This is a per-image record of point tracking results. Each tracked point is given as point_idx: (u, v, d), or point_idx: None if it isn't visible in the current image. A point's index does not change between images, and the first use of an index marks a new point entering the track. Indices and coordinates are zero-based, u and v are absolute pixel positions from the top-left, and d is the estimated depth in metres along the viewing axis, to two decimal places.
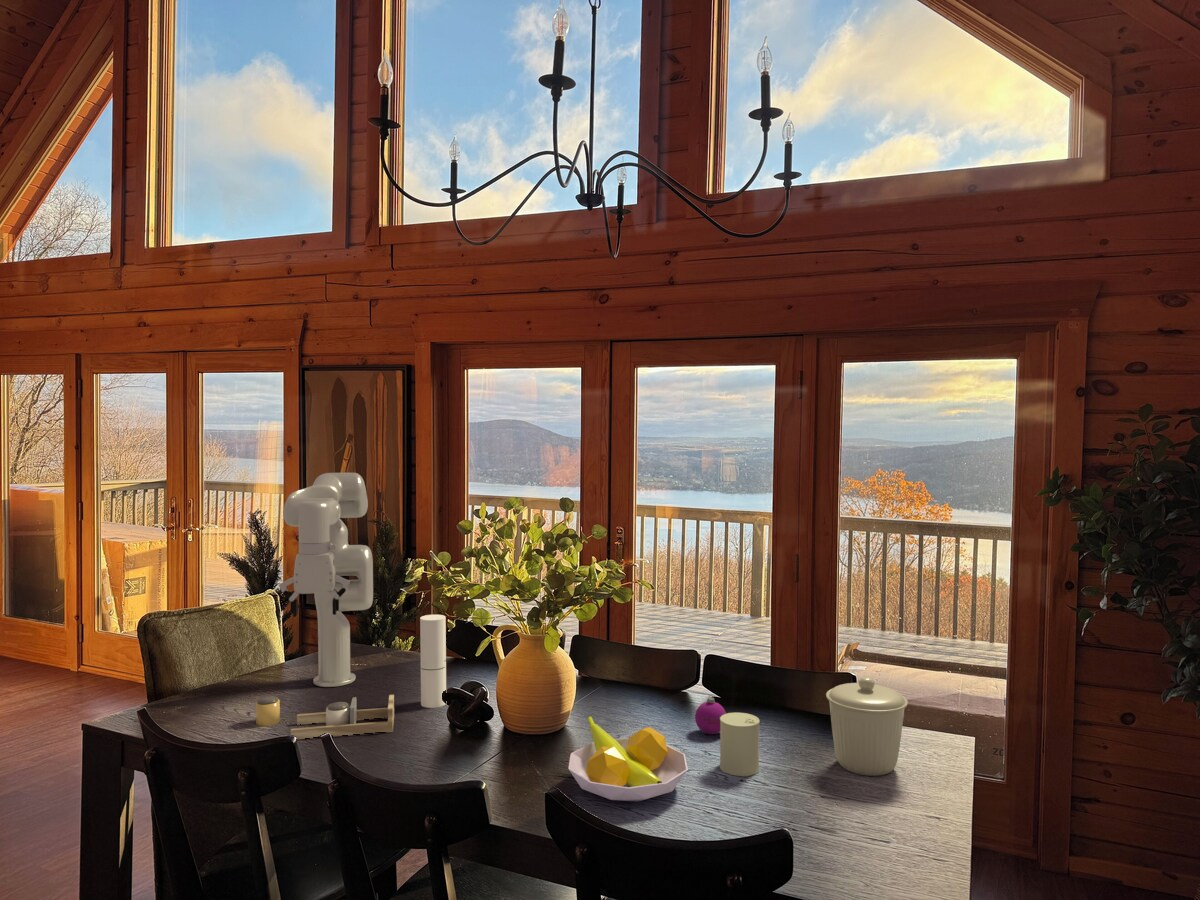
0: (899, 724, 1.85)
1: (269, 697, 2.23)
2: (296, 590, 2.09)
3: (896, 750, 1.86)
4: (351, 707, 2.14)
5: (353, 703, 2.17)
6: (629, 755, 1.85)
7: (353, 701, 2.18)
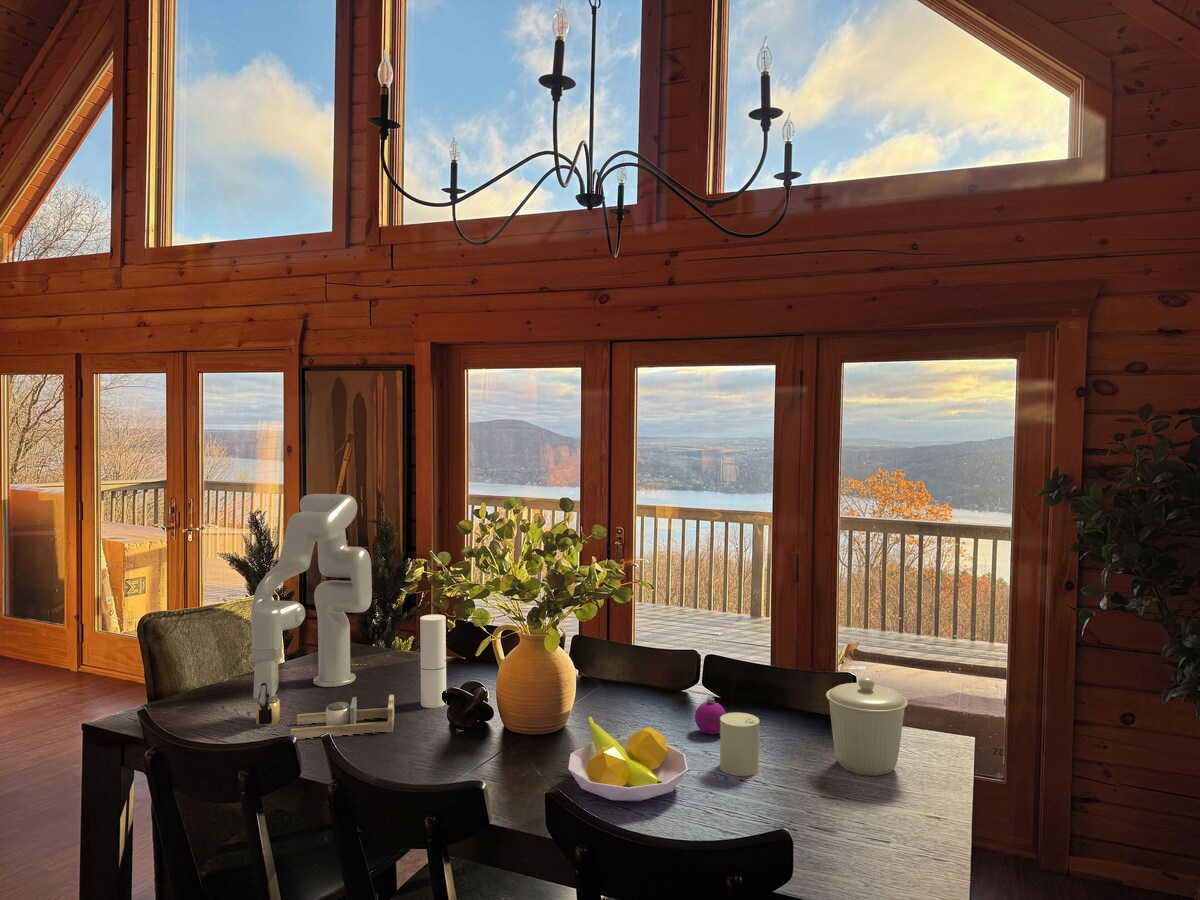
0: (899, 724, 1.85)
1: None
2: (272, 695, 2.17)
3: (896, 750, 1.86)
4: (351, 707, 2.14)
5: (353, 703, 2.17)
6: (629, 755, 1.85)
7: (353, 701, 2.18)
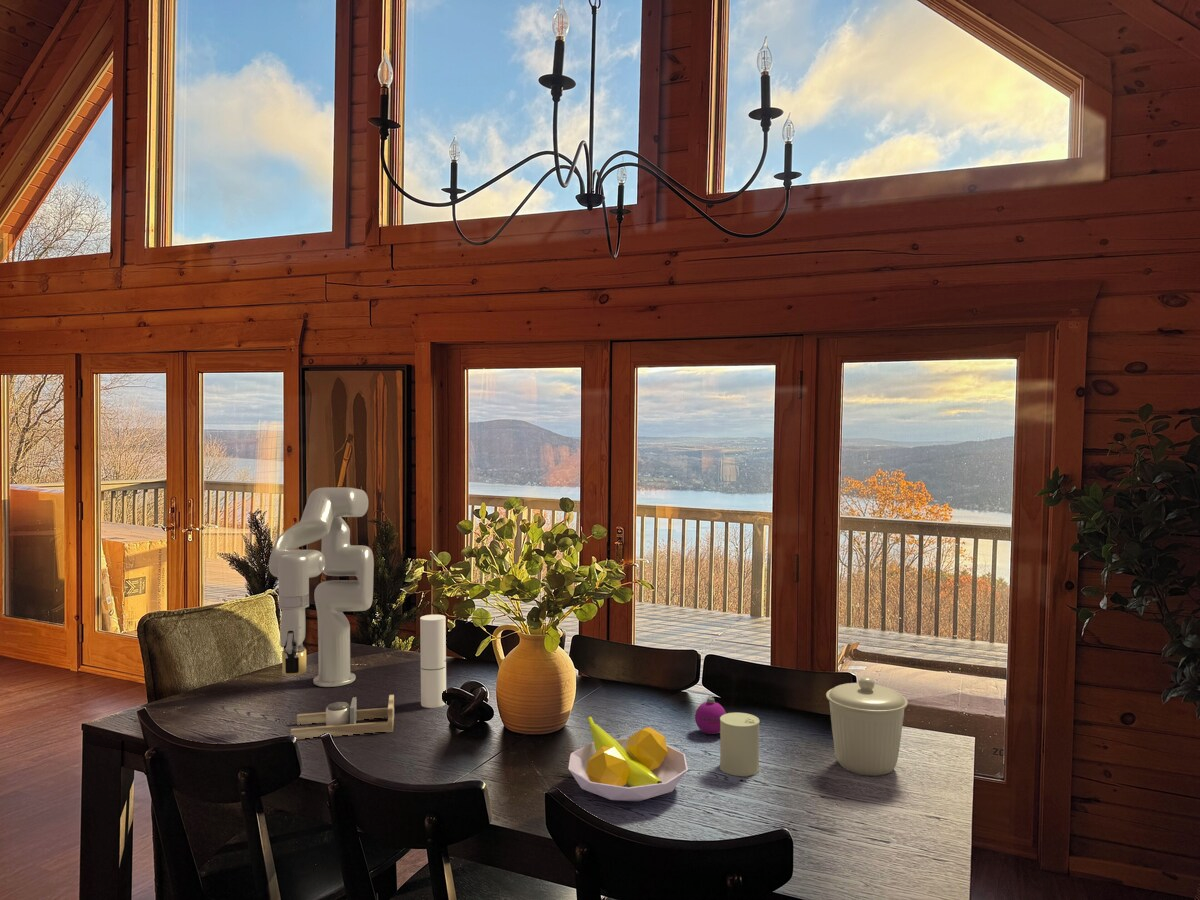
0: (899, 724, 1.85)
1: None
2: (299, 643, 2.12)
3: (896, 750, 1.86)
4: (351, 707, 2.14)
5: (353, 703, 2.17)
6: (629, 755, 1.85)
7: (353, 701, 2.18)
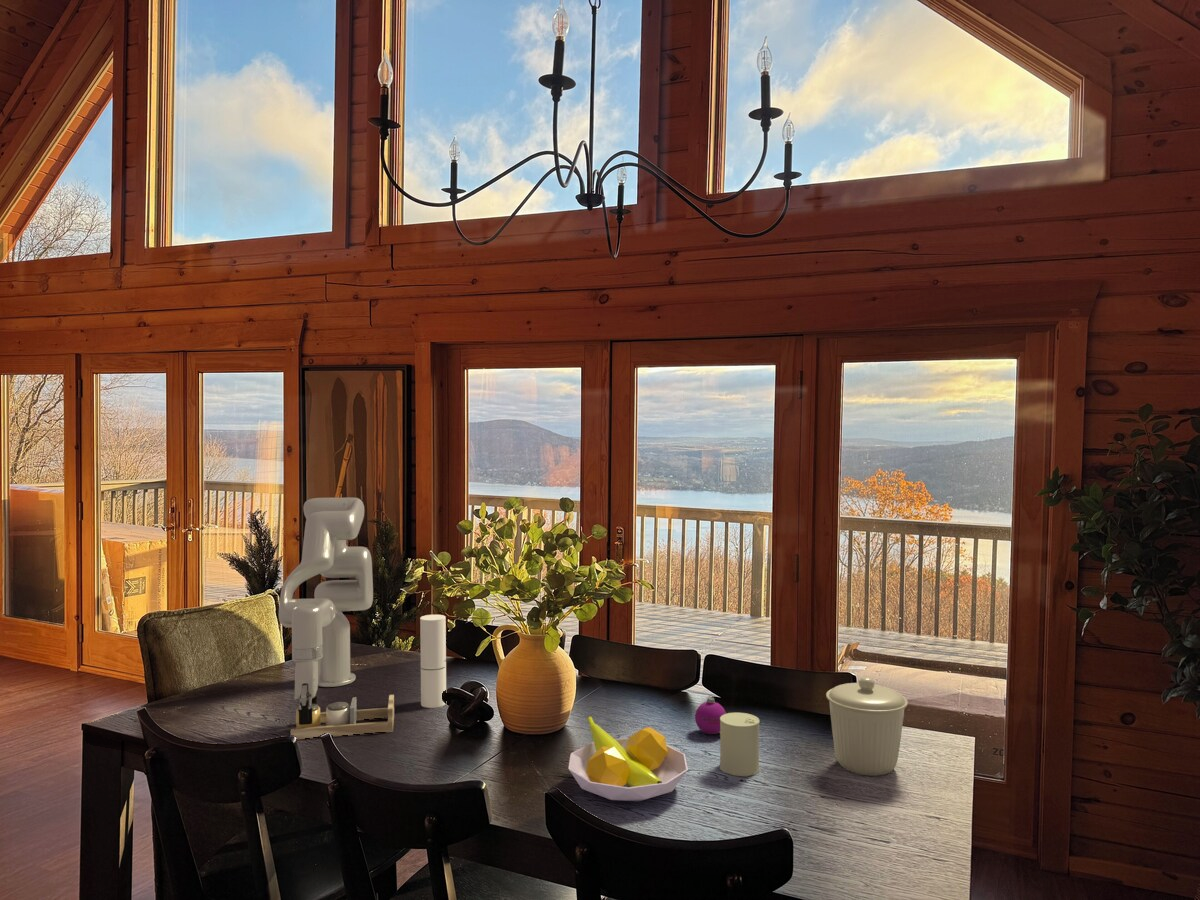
0: (899, 724, 1.85)
1: None
2: (313, 695, 2.11)
3: (896, 750, 1.86)
4: (351, 707, 2.14)
5: (353, 703, 2.17)
6: (629, 755, 1.85)
7: (353, 701, 2.18)
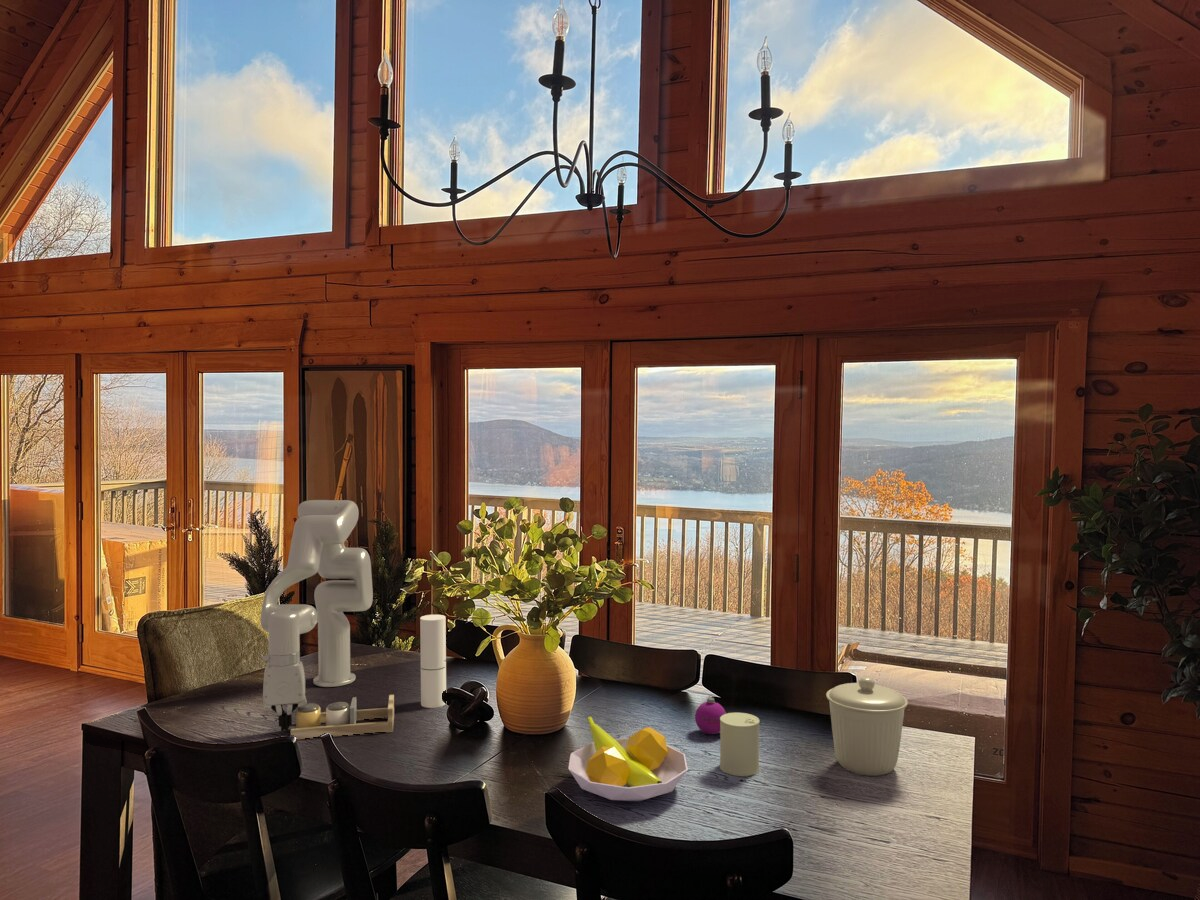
0: (899, 724, 1.85)
1: (310, 704, 2.17)
2: None
3: (896, 750, 1.86)
4: (351, 707, 2.14)
5: (353, 703, 2.17)
6: (629, 755, 1.85)
7: (353, 701, 2.18)
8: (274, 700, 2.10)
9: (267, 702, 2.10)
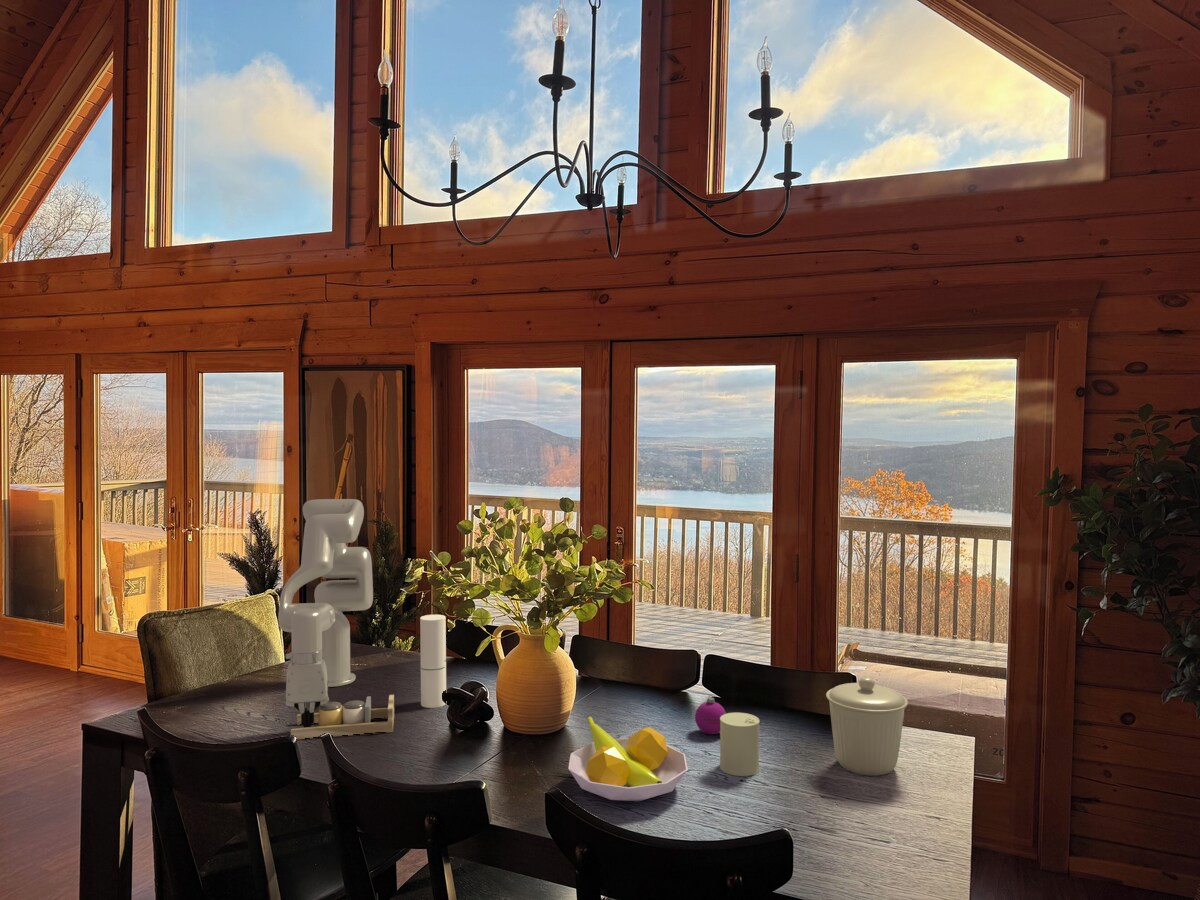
0: (899, 724, 1.85)
1: (332, 703, 2.17)
2: None
3: (896, 750, 1.86)
4: (366, 706, 2.14)
5: (368, 702, 2.17)
6: (629, 755, 1.85)
7: (368, 700, 2.19)
8: (297, 698, 2.11)
9: (290, 700, 2.11)
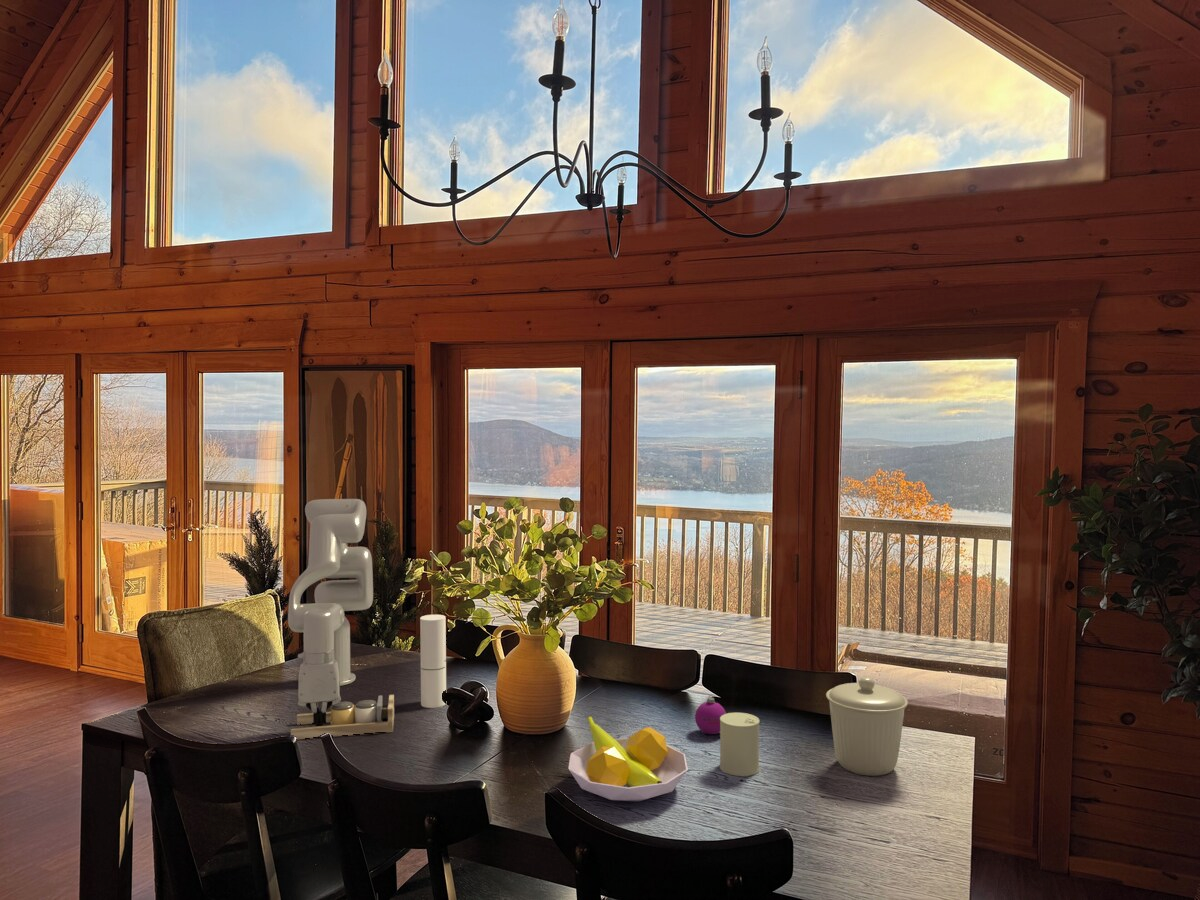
0: (899, 724, 1.85)
1: (344, 702, 2.18)
2: None
3: (896, 750, 1.86)
4: (378, 705, 2.15)
5: (380, 701, 2.18)
6: (629, 755, 1.85)
7: (379, 699, 2.20)
8: (309, 698, 2.12)
9: (303, 700, 2.12)
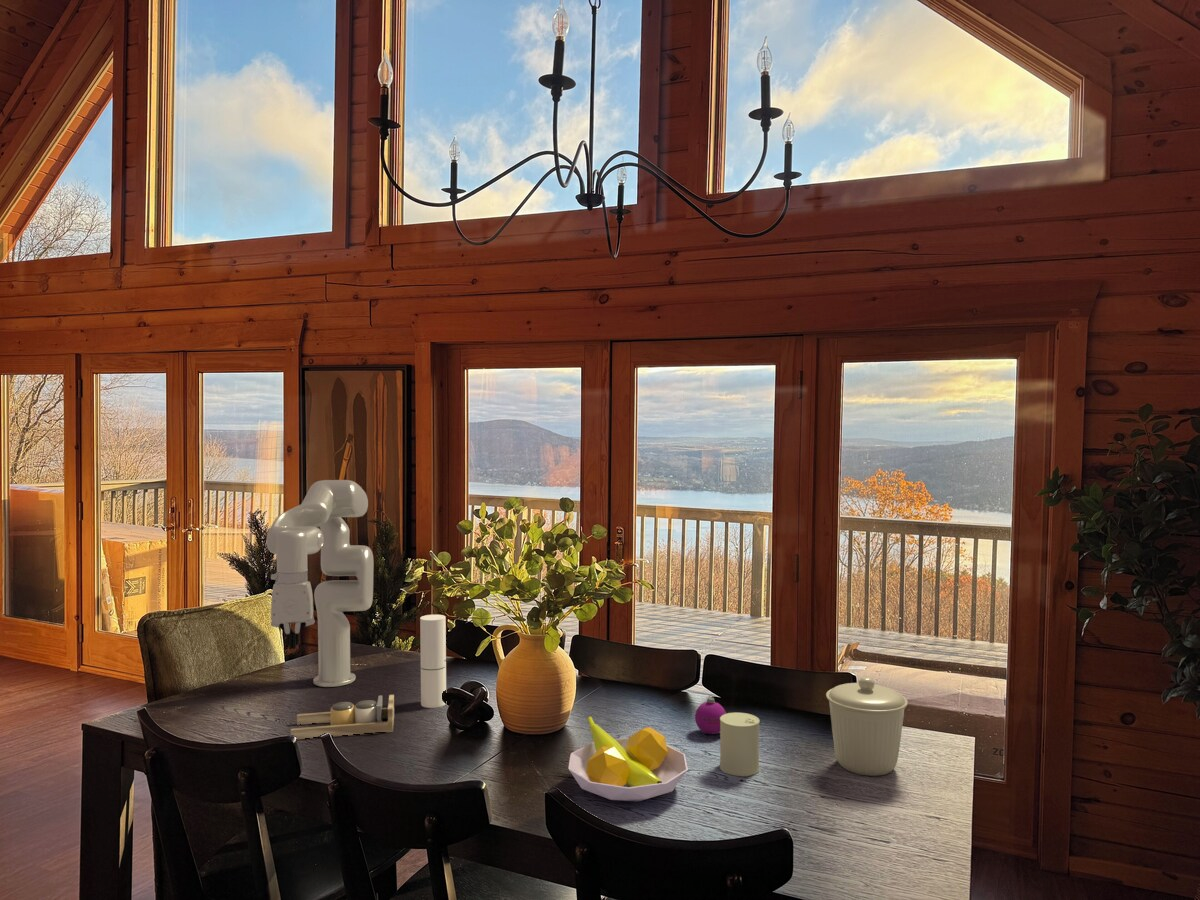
0: (899, 724, 1.85)
1: (344, 703, 2.18)
2: None
3: (896, 750, 1.86)
4: (378, 705, 2.15)
5: (380, 701, 2.18)
6: (629, 755, 1.85)
7: (379, 699, 2.20)
8: (282, 618, 2.10)
9: (276, 620, 2.10)
